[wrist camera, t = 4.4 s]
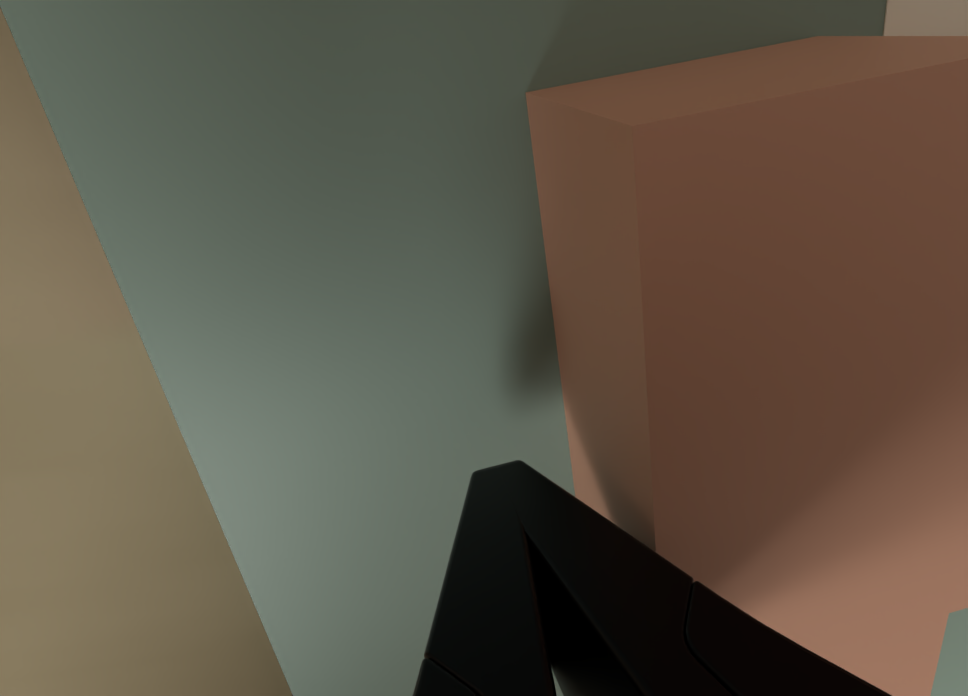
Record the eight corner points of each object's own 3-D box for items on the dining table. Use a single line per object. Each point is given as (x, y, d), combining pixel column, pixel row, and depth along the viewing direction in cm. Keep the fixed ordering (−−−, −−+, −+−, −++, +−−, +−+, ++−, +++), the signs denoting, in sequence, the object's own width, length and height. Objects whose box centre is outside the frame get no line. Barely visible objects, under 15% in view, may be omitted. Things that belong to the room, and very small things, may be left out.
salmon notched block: (1006, 520, 14) (1200, 662, 11) (592, 635, 13) (671, 827, 10) (1148, -28, 9) (1560, -61, 6) (525, 92, 8) (632, 125, 5)
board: (1227, 602, 18) (1264, 626, 18) (376, 856, 16) (377, 895, 15) (1901, -728, 8) (2056, -805, 7) (-220, -611, 6) (-306, -709, 5)
